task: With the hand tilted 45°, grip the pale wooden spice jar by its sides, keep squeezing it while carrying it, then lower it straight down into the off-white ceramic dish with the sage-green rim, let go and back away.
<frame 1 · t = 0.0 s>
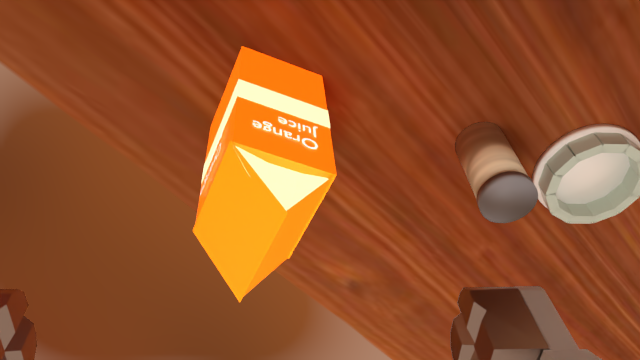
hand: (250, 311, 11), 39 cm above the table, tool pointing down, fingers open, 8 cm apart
orange juice: (264, 100, 53), on the table
ceramic dish: (585, 169, 60), on the table
spice jar: (479, 142, 57), on the table
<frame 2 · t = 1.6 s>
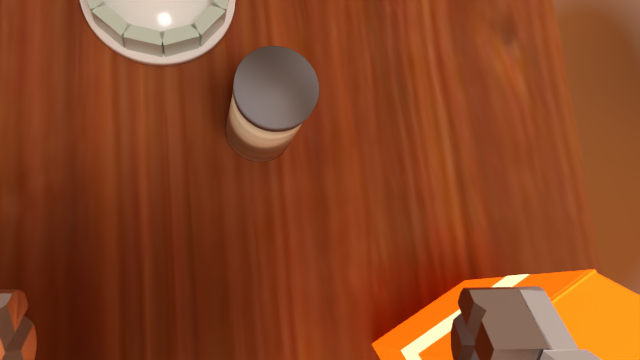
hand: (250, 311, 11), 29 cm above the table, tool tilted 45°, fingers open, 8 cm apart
orange juice: (445, 356, 42), on the table
spice jar: (258, 130, 42), on the table
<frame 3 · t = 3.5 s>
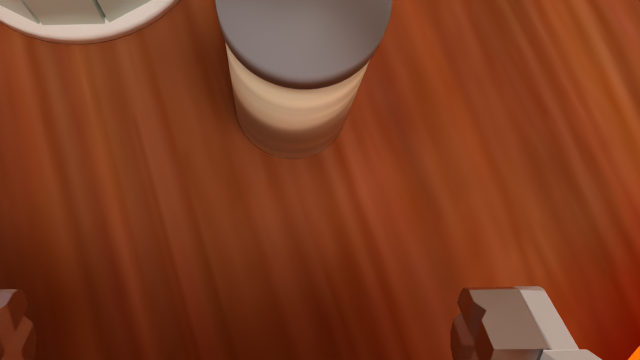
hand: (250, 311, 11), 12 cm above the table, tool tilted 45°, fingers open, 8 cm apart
spice jar: (291, 105, 25), on the table
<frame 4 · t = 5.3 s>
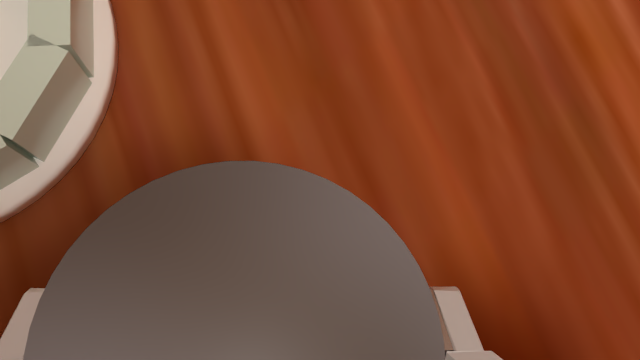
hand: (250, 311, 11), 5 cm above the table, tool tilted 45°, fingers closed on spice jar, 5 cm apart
spice jar: (254, 336, 16), on the table, touching gripper
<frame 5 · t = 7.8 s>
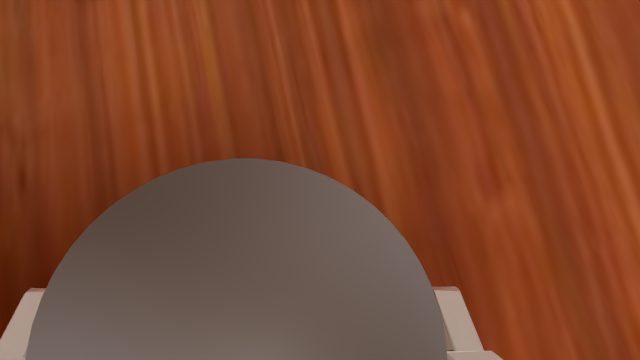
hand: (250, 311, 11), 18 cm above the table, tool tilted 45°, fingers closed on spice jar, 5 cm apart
spice jar: (255, 334, 16), point 13 cm above the table, touching gripper
when the fingers open (7 cm above the table, at t = 10.3 s): spice jar drops 2 cm, resting on ceramic dish.
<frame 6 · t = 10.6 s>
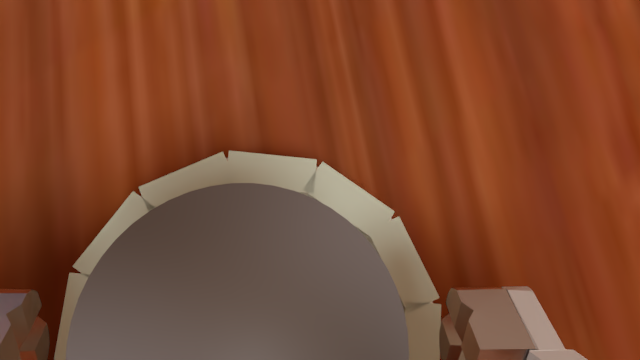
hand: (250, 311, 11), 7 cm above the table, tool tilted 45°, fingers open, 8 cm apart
ceramic dish: (256, 333, 18), on the table
spice jar: (254, 332, 17), point 1 cm above the table, touching ceramic dish
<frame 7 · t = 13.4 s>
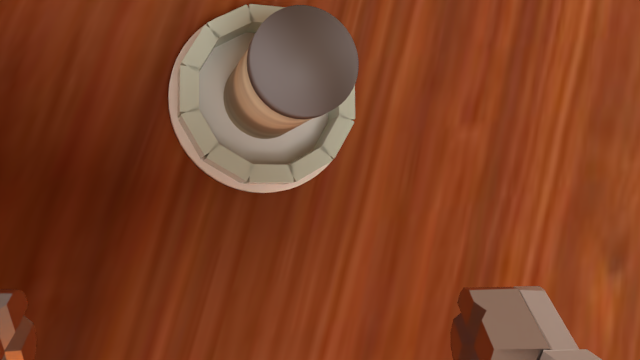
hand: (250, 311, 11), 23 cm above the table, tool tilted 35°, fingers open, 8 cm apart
ceramic dish: (261, 102, 35), on the table
spice jar: (263, 98, 34), point 1 cm above the table, touching ceramic dish
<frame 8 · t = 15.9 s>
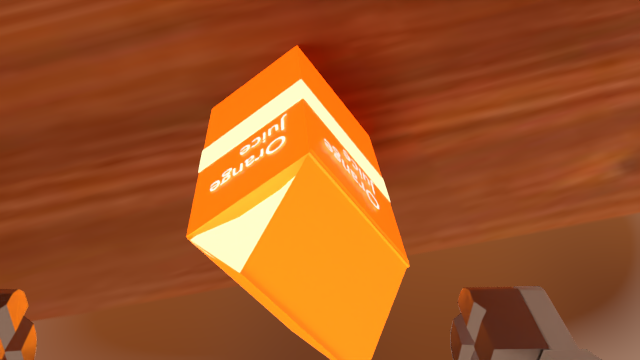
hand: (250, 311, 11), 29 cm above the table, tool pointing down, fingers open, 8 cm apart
orange juice: (292, 122, 42), on the table
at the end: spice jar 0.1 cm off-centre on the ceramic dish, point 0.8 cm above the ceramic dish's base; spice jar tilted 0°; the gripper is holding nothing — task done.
